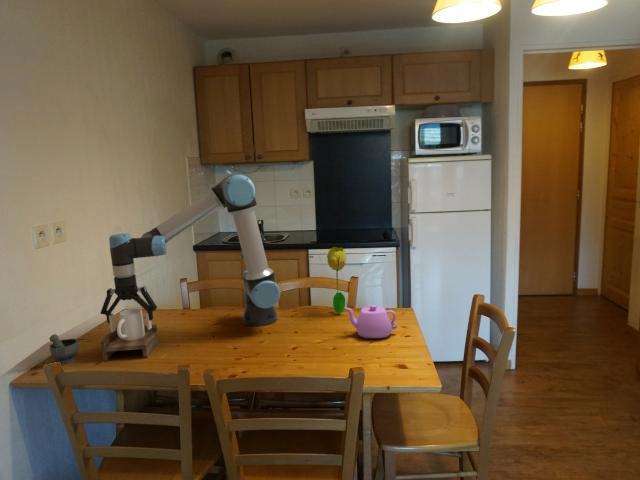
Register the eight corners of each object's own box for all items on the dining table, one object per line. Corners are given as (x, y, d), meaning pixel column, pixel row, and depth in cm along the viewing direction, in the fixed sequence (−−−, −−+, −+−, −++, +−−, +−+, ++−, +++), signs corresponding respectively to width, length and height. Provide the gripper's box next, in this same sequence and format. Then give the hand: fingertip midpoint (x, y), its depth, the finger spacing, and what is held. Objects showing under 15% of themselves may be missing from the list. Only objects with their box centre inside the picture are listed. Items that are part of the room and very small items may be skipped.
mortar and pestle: (62, 356, 184) (58, 326, 182) (86, 355, 183) (81, 325, 181) (43, 368, 173) (38, 336, 171) (68, 368, 172) (63, 336, 170)
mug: (128, 346, 176) (124, 319, 175) (110, 344, 179) (106, 318, 177) (149, 334, 187) (146, 308, 186) (132, 333, 190) (128, 308, 188)
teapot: (396, 328, 192) (395, 299, 190) (398, 340, 179) (397, 310, 177) (346, 329, 194) (344, 301, 193) (344, 341, 181) (343, 311, 179)
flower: (329, 312, 217) (325, 247, 212) (347, 311, 218) (343, 245, 213) (331, 318, 208) (327, 250, 204) (350, 317, 209) (346, 249, 204)
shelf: (158, 342, 192) (156, 324, 191) (147, 357, 177) (144, 338, 176) (118, 345, 191) (115, 327, 190) (103, 361, 177) (100, 341, 175)
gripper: (161, 270, 183) (167, 324, 187) (94, 275, 182) (102, 328, 186) (155, 275, 176) (162, 330, 179) (86, 280, 175) (94, 335, 178)
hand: (131, 329), depth 182 cm, fingers open, 13 cm apart
